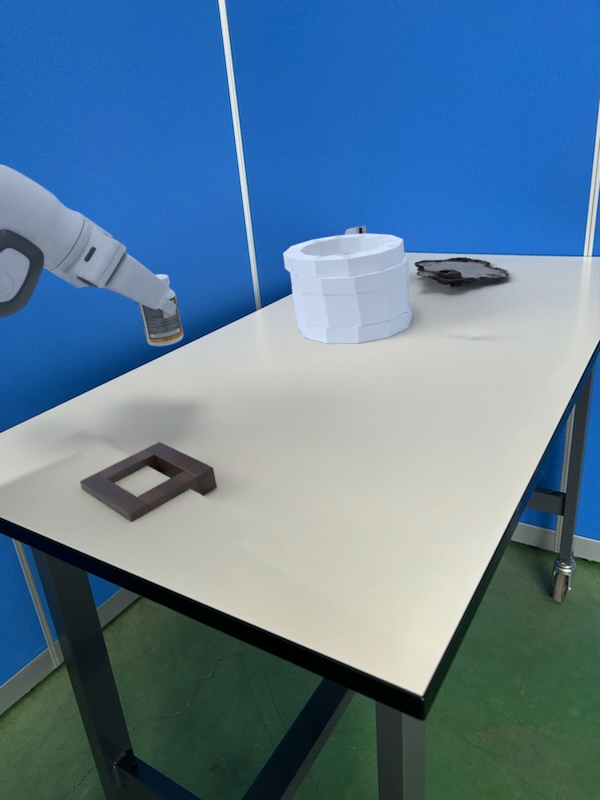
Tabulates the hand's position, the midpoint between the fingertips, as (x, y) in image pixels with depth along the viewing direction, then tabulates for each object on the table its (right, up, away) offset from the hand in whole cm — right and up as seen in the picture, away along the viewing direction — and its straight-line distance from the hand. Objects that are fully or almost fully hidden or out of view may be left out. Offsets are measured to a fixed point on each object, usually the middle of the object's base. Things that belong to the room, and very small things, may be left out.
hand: (162, 306), depth 94 cm
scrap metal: (+60, +15, +57) cm, 85 cm away
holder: (+2, -26, -16) cm, 31 cm away
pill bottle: (0, -5, +2) cm, 6 cm away
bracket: (+37, +14, +61) cm, 72 cm away
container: (+32, +2, +36) cm, 48 cm away
